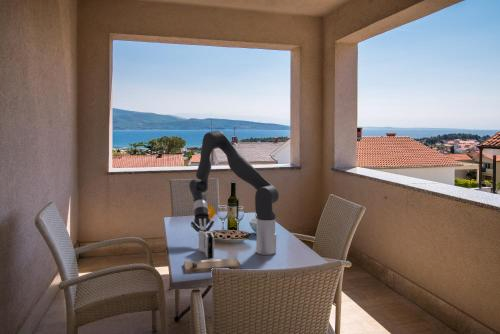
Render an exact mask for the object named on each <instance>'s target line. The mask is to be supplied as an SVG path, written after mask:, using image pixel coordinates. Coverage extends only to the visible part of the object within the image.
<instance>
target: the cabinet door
mask: <svg viewBox="0 0 500 334" xmlns="http://www.w3.org/2000/svg"><path fill="white" fill-rule="evenodd" d="M183 266H184V271H185V274H189V273H190V274H192V273H205V272H212V271H211V269H212V268H229V269H233V270H241V269H242V264H241V263H240V261H239V260H238V258H237V257H235V258H222V259H221V258H217V259H215V258H214V259H212V258H211V259H201V260H190V261H187V260H186V261H184V262H183Z"/></svg>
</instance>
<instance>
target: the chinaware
mask: <svg viewBox="0 0 500 334" xmlns="http://www.w3.org/2000/svg"><path fill="white" fill-rule="evenodd" d="M256 218H257V217H256ZM256 218H255V217H254V218H250V219H249V226H250V228H251V229H252V230H253V232H255V234H256V235H257V219H256Z"/></svg>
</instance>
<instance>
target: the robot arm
mask: <svg viewBox="0 0 500 334" xmlns="http://www.w3.org/2000/svg"><path fill="white" fill-rule="evenodd" d="M218 148H219V150H221V151H222V153H224V154H225V156H226V160H227V163H228V166H229V169H230V170H231V171H232V172H233V173H234V175H236V176H237V177H238V178H239V179H240V180H242V181H244V182H246V183H247V184H249V185H251V186H252V187H253V188H254V189H255V190H256V192H255V195H254V206H255V209H254V210H255V214H256V218H257V234H256V244H255V245H256V246H255V247H256V248H255V250H256V253H257V254H258V255H262V256H270V255H274V254H277V233H276V217H277V216H276V213H275V212H274V211H273V204H275V203H276V202H278V200H279V197H280V196H279V195H280V194H279V192H278V190H277V188H276V187H275V186H274V185H273V184H272V183H270V181H268V180H267V179H265V178H264V176H263V175H261V173H259V171H258V170H257V169H256V168H255V167H254V166H253V165H252V164H251V163H250V162H249V160H247V159H246V158H245V157H244V156H243V154H242V153H241V152H239V150H237V149H236V147H235V145H233V144H232V142H231V141H230V140H229V138H228V137H227V136H226V135H225V133H224V132H222V131H220V130H212V131H209V132H206V133H205V134H204V135H203V138H202V142H201V150H200V151H201V152H200V159H199V163H198V167H197V170H196V173H195V177H196V178H197V179H191V180H190V182H189V187H188V188H189V191H190V193H191V196H192V199H193V212H194V215H193V216H194V219H193V221H191V222H190V227H191V228H193V229H194V231H196V232H197V233H199V231H203V232H210V230H211V228H212V227H213V226H214V224H215V221H214V220H211V218H210V216H209V206H208V202H207V195H206V194H205V193H206V192H207V191H208V188H209V177H210V173H211V170H212V162H211V154H212V152H213V150H215V149H218ZM201 236H202V235H201Z"/></svg>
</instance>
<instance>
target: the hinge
mask: <svg viewBox="0 0 500 334" xmlns="http://www.w3.org/2000/svg"><path fill="white" fill-rule="evenodd" d="M201 235H202V236H201ZM215 248H216V246H215V236H214V234H213V232H212V231H207V232H203V231H199V232H198V251H199V252H203V253H204V254H205V256H206V258H207V259H210V258H211V259H212V258H215Z"/></svg>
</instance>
